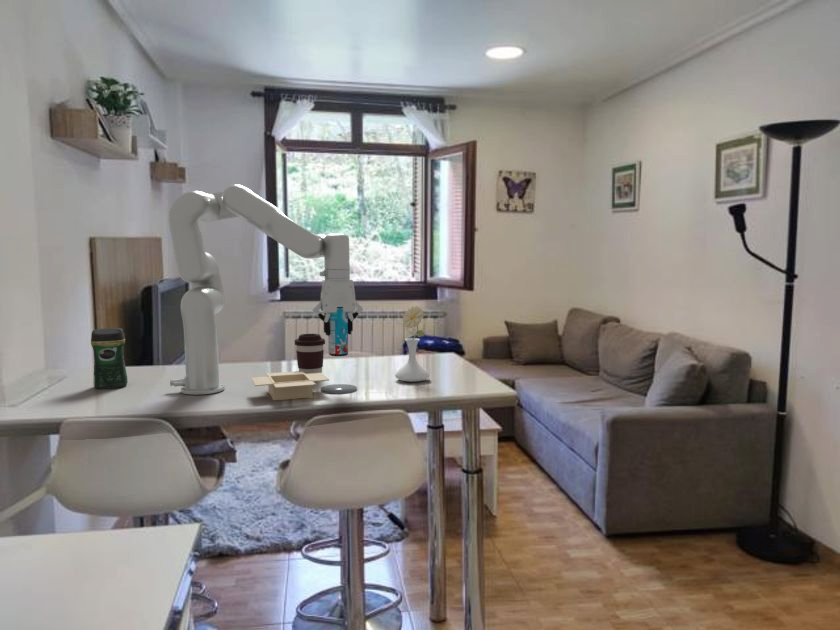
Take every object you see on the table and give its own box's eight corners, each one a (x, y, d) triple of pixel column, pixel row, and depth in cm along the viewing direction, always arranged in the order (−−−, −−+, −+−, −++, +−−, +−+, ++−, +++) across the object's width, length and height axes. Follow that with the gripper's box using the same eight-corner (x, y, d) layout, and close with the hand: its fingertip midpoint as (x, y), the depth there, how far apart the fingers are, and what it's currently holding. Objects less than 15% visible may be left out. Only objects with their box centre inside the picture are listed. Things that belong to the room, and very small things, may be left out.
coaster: (325, 395, 181) (325, 393, 181) (317, 387, 191) (317, 385, 191) (361, 392, 185) (361, 390, 185) (351, 384, 195) (351, 383, 195)
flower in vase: (389, 379, 205) (389, 304, 202) (419, 376, 210) (419, 303, 207) (406, 386, 193) (406, 307, 191) (438, 383, 198) (438, 306, 196)
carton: (257, 406, 168) (257, 388, 168) (249, 390, 188) (249, 374, 188) (333, 399, 176) (333, 382, 176) (318, 384, 196) (317, 369, 195)
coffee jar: (128, 383, 199) (126, 326, 197) (126, 388, 191) (123, 329, 190) (95, 385, 195) (92, 327, 194) (91, 390, 188) (88, 330, 186)
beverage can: (345, 357, 184) (344, 307, 182) (326, 356, 185) (325, 307, 183) (350, 353, 190) (350, 305, 188) (332, 353, 191) (331, 305, 189)
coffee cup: (309, 375, 211) (308, 332, 209) (331, 378, 206) (331, 334, 204) (289, 380, 202) (288, 335, 201) (312, 383, 197) (311, 337, 196)
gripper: (311, 276, 178) (312, 337, 180) (368, 275, 184) (369, 334, 186) (306, 275, 185) (307, 334, 187) (361, 274, 191) (362, 331, 193)
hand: (338, 333), depth 187 cm, fingers closed on beverage can, 5 cm apart
